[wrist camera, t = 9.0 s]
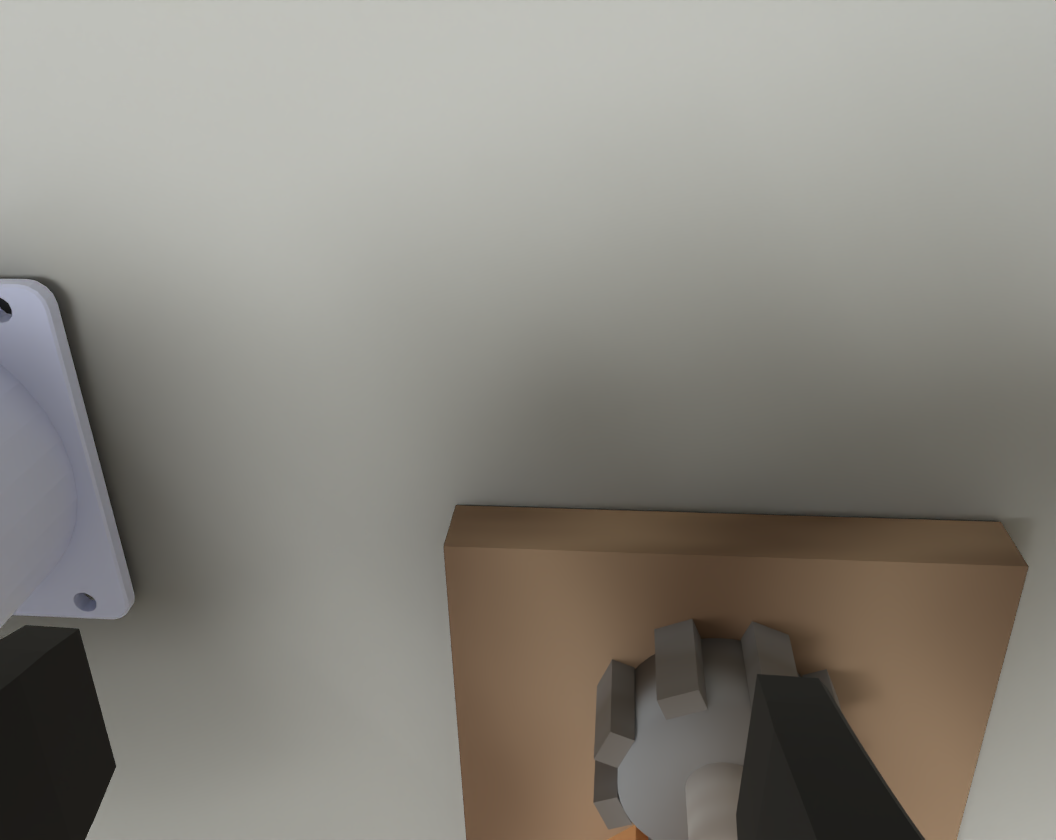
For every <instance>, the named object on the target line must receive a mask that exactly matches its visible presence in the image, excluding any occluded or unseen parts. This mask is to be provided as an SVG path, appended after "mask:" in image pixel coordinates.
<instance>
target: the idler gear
mask: <svg viewBox="0 0 1056 840" xmlns="http://www.w3.org/2000/svg"><path fill="white" fill-rule="evenodd" d="M608 840H648V836H646V835H645V834H644V833H643V832H641V831H640V830H639V829H638V828H637V827H636V826H635V825H633V826H631V827H630V828H628V829H626V830H624V831H622V832H620V833H619V834H617V835H615V836H613V837H611V838H609V839H608Z"/></svg>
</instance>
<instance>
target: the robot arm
mask: <svg viewBox="0 0 1056 840" xmlns="http://www.w3.org/2000/svg"><path fill="white" fill-rule="evenodd" d="M0 298H2V299H4V300H5V301H6V302H7V303H8V304H9V306H10V307H11V309H12V315H11V314H7V313H6V312H5V311H3V310H2V309H1V308H0V628H1V627H2V626H3V625H4V624H5V623H6V621H7V620H8V619H9V618H10V617H11V616H12V615H22V616H45V617H68V618H91V619H119V618H121V617H123V616H125V615H126V614H127V612H128V611H129V610H130V608H131V607H132V605H133V603H134V602H135V594H134V590H133V586H132V583H131V579H130V575H129V571H128V568H127V564H126V560H125V556H124V552H123V549H122V545H121V541H120V537H119V534H118V530H117V526H116V522H115V518H114V515H113V511H112V507H111V503H110V500H109V496H108V492H107V488H106V484H105V481H104V477H103V473H102V469H101V465H100V462H99V458H98V454H97V450H96V447H95V443H94V439H93V435H92V431H91V428H90V424H89V420H88V416H87V413H86V409H85V405H84V401H83V397H82V394H81V390H80V386H79V382H78V379H77V375H76V371H75V367H74V363H73V360H72V356H71V352H70V348H69V344H68V341H67V337H66V333H65V329H64V326H63V322H62V318H61V314H60V310H59V307H58V303H57V301H56V299H55V297H54V295H53V293H52V292H51V291H50V290H49V289H48V288H47V287H46V286H44V285H43V284H41V283H39V282H37V281H34V280H29V279H0ZM84 593H86V594H89V595H90V596H92V597H93V598H94V600H91V599H89V598H88V597H87V596H85V594H84ZM115 768H116V764H115V761H114V757H113V753H112V749H111V746H110V742H109V738H108V735H107V731H106V727H105V723H104V720H103V716H102V712H101V709H100V705H99V701H98V697H97V694H96V690H95V686H94V683H93V679H92V675H91V671H90V668H89V664H88V660H87V657H86V653H85V649H84V645H83V642H82V638H81V634H80V631H79V629H74V628H59V627H44V626H29V625H25V626H23V627H22V628H20V629H18V630H17V631H15V632H13V633H11V634H10V635H8V636H6V637H5V638H3V639H1V640H0V840H85V838H86V836H87V834H88V832H89V829H90V827H91V825H92V823H93V821H94V818H95V816H96V814H97V811H98V809H99V806H100V804H101V802H102V799H103V797H104V794H105V792H106V790H107V787H108V785H109V782H110V780H111V777H112V775H113V773H114V770H115ZM736 824H737V839H738V840H925V838H924V837H923V836H922V834H921V833H920V831H919V830H918V829H917V827H916V826H915V824H914V823H913V822H912V820H911V819H910V817H909V816H908V814H907V813H906V811H905V810H904V808H903V807H902V805H901V804H900V803H899V801H898V800H897V798H896V797H895V795H894V794H893V792H892V791H891V789H890V788H889V786H888V785H887V783H886V782H885V780H884V778H883V777H882V775H881V774H880V772H879V771H878V769H877V768H876V766H875V765H874V763H873V762H872V760H871V759H870V757H869V755H868V754H867V752H866V751H865V749H864V747H863V746H862V744H861V743H860V741H859V740H858V738H857V736H856V735H855V733H854V731H853V730H852V728H851V727H850V725H849V723H848V722H847V720H846V718H845V717H844V715H843V713H842V712H841V710H840V708H839V707H838V705H837V703H836V702H835V700H834V698H833V697H832V695H831V693H830V691H829V690H828V688H827V687H826V686H825V685H824V684H823V683H822V681H821V680H820V679H819V678H810V677H795V676H780V675H765V674H757V678H756V684H755V691H754V698H753V704H752V711H751V718H750V724H749V731H748V738H747V744H746V751H745V758H744V764H743V771H742V778H741V784H740V791H739V798H738V804H737V811H736Z"/></svg>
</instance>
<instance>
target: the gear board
mask: <svg viewBox="0 0 1056 840" xmlns="http://www.w3.org/2000/svg"><path fill="white" fill-rule="evenodd" d="M444 559H445V571H446V584H447V597H448V610H449V623H450V635H451V648H452V661H453V674H454V687H455V699H456V712H457V725H458V738H459V751H460V763H461V776H462V789H463V802H464V815H465V827H466V840H608V839H609V838H611V837H613V836H615V835H617V834H619V833H620V832H622V831H624V830H626V829H628V828H630V827H631V826H633V825H635V826H636V827H637V828H638V829H639V830H640V831H641V832H643V833H644V834H645V835H646V836H648V840H738V839H737V824H736V811H737V804H738V798H739V791H740V784H741V778H742V771H743V764H744V758H745V751H746V744H747V738H748V731H749V724H750V718H751V711H752V704H753V698H754V691H755V684H756V678H757V674H765V675H780V676H795V677H810V678H819V679H820V680H821V681H822V683H823V684H824V685H825V686H826V687H827V688H828V690H829V691H830V693H831V695H832V697H833V698H834V700H835V702H836V703H837V705H838V707H839V708H840V710H841V712H842V713H843V715H844V717H845V718H846V720H847V722H848V723H849V725H850V727H851V728H852V730H853V731H854V733H855V735H856V736H857V738H858V740H859V741H860V743H861V744H862V746H863V747H864V749H865V751H866V752H867V754H868V755H869V757H870V759H871V760H872V762H873V763H874V765H875V766H876V768H877V769H878V771H879V772H880V774H881V775H882V777H883V778H884V780H885V782H886V783H887V785H888V786H889V788H890V789H891V791H892V792H893V794H894V795H895V797H896V798H897V800H898V801H899V803H900V804H901V805H902V807H903V808H904V810H905V811H906V813H907V814H908V816H909V817H910V819H911V820H912V822H913V823H914V824H915V826H916V827H917V829H918V830H919V831H920V833H921V834H922V836H923V837H924V838H925V840H957V836H958V832H959V828H960V825H961V821H962V817H963V813H964V809H965V806H966V802H967V798H968V794H969V790H970V787H971V783H972V779H973V775H974V771H975V768H976V764H977V760H978V756H979V753H980V749H981V745H982V741H983V737H984V734H985V730H986V726H987V722H988V718H989V715H990V711H991V707H992V703H993V699H994V696H995V692H996V688H997V684H998V681H999V677H1000V673H1001V669H1002V665H1003V662H1004V658H1005V654H1006V650H1007V646H1008V643H1009V639H1010V635H1011V631H1012V627H1013V624H1014V620H1015V616H1016V612H1017V608H1018V605H1019V601H1020V597H1021V593H1022V590H1023V586H1024V582H1025V578H1026V574H1027V571H1028V567H1029V566H1028V565H1027V563H1026V562H1025V560H1024V558H1023V557H1022V555H1021V554H1020V552H1019V550H1018V549H1017V547H1016V546H1015V544H1014V542H1013V541H1012V539H1011V537H1010V536H1009V534H1008V533H1007V531H1006V529H1005V528H1004V526H1003V525H1002V523H1001V522H988V521H955V520H922V519H889V518H857V517H824V516H791V515H758V514H726V513H693V512H660V511H627V510H594V509H562V508H529V507H496V506H463V505H456V506H455V510H454V513H453V516H452V520H451V523H450V526H449V530H448V533H447V536H446V540H445V543H444Z"/></svg>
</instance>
